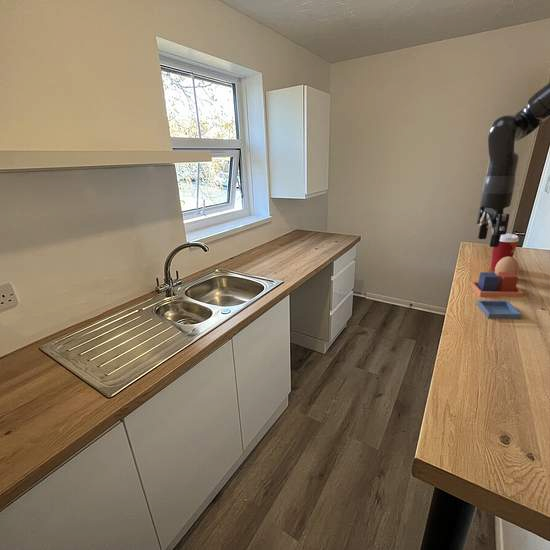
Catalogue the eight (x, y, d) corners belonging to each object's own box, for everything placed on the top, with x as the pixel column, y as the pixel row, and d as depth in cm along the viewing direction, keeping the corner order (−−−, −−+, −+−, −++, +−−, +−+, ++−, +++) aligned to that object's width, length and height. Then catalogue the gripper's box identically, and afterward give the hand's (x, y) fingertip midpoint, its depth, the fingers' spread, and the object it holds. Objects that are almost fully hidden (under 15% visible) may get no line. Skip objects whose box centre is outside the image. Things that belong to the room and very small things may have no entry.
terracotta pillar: (508, 288, 102) (512, 272, 100) (514, 293, 98) (518, 277, 96) (494, 288, 103) (498, 272, 100) (500, 293, 99) (504, 277, 97)
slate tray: (506, 306, 93) (507, 300, 92) (520, 320, 85) (522, 314, 84) (476, 305, 94) (477, 300, 94) (487, 319, 87) (489, 313, 86)
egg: (488, 278, 111) (493, 255, 108) (503, 275, 112) (508, 252, 109) (505, 285, 105) (511, 261, 101) (521, 281, 106) (527, 258, 103)
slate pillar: (490, 288, 103) (493, 272, 101) (495, 293, 99) (499, 277, 97) (477, 288, 104) (480, 272, 102) (482, 293, 100) (485, 277, 98)
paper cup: (514, 275, 112) (523, 238, 106) (489, 273, 114) (497, 238, 109) (507, 267, 118) (515, 232, 113) (484, 266, 121) (491, 232, 116)
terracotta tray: (509, 286, 104) (510, 281, 103) (522, 297, 96) (523, 292, 95) (470, 286, 106) (471, 281, 106) (479, 297, 99) (480, 292, 98)
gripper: (525, 193, 82) (512, 249, 88) (500, 186, 95) (490, 236, 101) (494, 194, 84) (483, 249, 90) (473, 187, 96) (465, 236, 103)
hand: (487, 242), depth 95 cm, fingers open, 8 cm apart
